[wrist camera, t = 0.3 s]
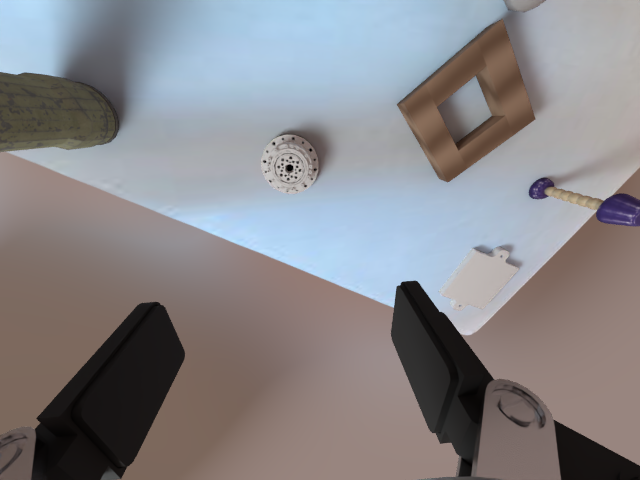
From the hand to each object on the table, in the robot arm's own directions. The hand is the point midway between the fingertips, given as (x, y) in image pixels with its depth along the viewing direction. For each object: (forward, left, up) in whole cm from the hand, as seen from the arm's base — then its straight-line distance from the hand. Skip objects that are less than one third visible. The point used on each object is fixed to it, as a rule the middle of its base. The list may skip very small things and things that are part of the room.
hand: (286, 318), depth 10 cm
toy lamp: (+34, +34, -37) cm, 61 cm away
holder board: (+11, +27, -37) cm, 47 cm away
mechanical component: (-1, -1, -37) cm, 37 cm away
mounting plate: (+47, +15, -37) cm, 62 cm away
